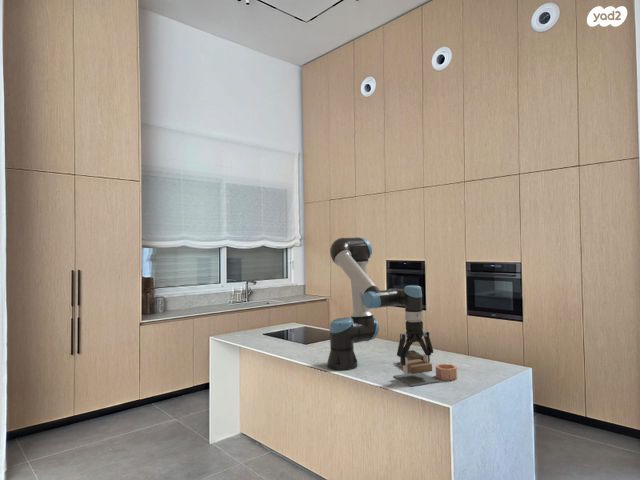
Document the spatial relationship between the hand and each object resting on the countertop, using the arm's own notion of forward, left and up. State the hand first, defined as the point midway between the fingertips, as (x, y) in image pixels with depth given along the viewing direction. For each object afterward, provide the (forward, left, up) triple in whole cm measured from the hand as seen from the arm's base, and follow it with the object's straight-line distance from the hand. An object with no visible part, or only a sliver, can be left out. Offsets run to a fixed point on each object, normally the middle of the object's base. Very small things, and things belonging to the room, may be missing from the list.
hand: (415, 370), depth 188 cm
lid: (0, 0, +1) cm, 1 cm away
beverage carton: (-18, +11, -4) cm, 22 cm away
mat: (0, 0, -4) cm, 4 cm away
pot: (+3, +14, -4) cm, 15 cm away
